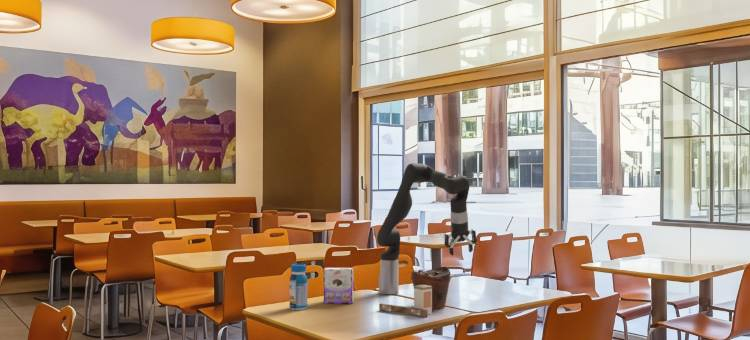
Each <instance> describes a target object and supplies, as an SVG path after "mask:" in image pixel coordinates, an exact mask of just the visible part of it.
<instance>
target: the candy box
mask: <svg viewBox="0 0 750 340" xmlns="http://www.w3.org/2000/svg"><path fill="white" fill-rule="evenodd" d="M353 303H354V267H324V268H323V304H332V305H333V304H337V305H339V304H340V305H341V304H345V305H346V304H347V305H349V304H353Z"/></svg>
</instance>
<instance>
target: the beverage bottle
mask: <svg viewBox="0 0 750 340" xmlns="http://www.w3.org/2000/svg"><path fill="white" fill-rule="evenodd" d="M306 265H307V264H305V263H293V264H291V266H290V271H291V273H292V274H290V276H289V285H288V287H289V309H290V310H293V311H304V310H306V309H308V287H309V283H308V276H307V275H306V273H305V272H306V271H307V266H306Z"/></svg>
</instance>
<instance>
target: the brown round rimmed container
mask: <svg viewBox="0 0 750 340" xmlns="http://www.w3.org/2000/svg"><path fill="white" fill-rule="evenodd" d="M410 280H412V285H413V286H412V287H414V286H417V285H428V286H432V310H436V309H444V308H445V306H446V303H447V297H448V294H449V293H448V292H449V287H450V282H451V271H450V269H449V267H446V266H440V267H437V268H432V269H429V270H428V269H427V270H425V269H424V270H423V269H420V270H418V271H416V270H412V271H411V275H410Z"/></svg>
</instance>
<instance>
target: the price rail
mask: <svg viewBox="0 0 750 340" xmlns="http://www.w3.org/2000/svg"><path fill="white" fill-rule="evenodd" d="M378 305H379V306H378V307H379V312H388V313H393V314H401V315H409V316H416V317H422V318H428V315H429V314H428V310H425V309H418V308H414V307H411V306H410V307H409V306H403V305H402V306H401V305H395V304H387V303H379V304H378Z"/></svg>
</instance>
